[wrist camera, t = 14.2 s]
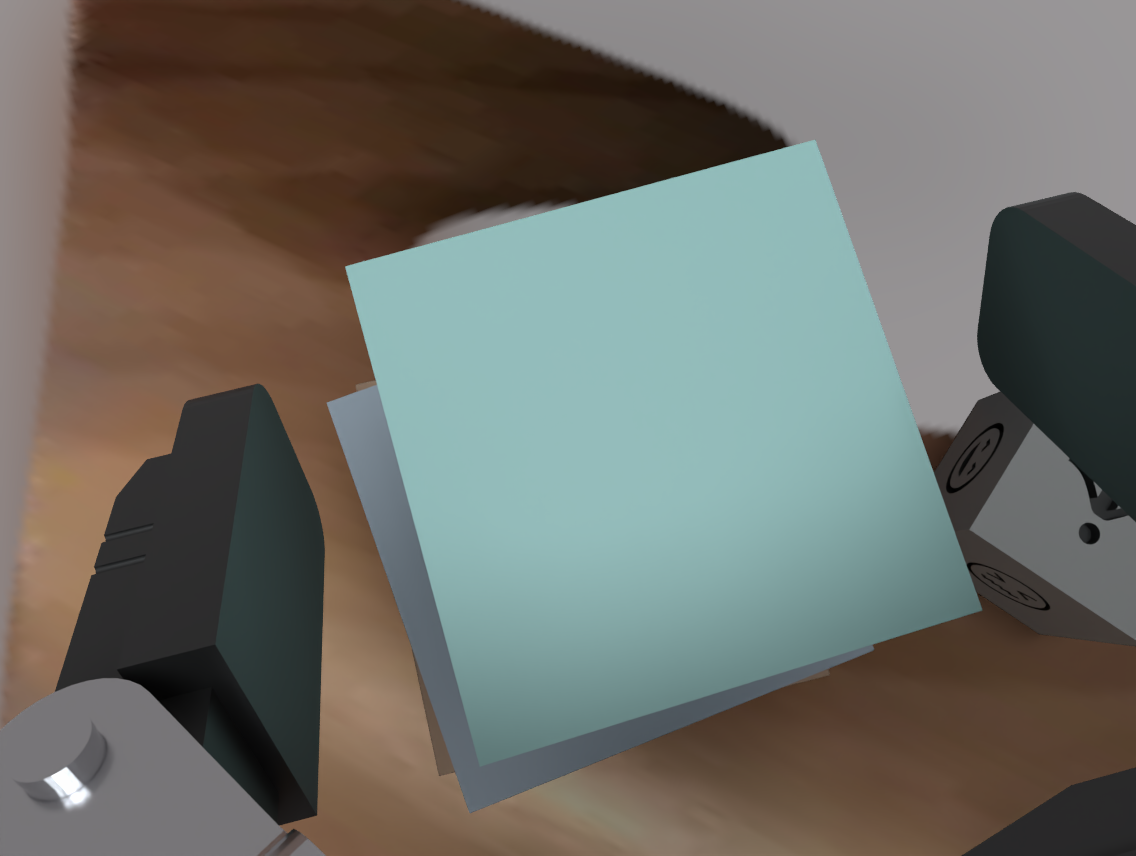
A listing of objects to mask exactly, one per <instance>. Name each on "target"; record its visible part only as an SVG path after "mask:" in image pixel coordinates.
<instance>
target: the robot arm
mask: <svg viewBox="0 0 1136 856" xmlns="http://www.w3.org/2000/svg"><path fill="white" fill-rule="evenodd" d="M989 238H990V239H989V245H988V253H987V261H986V270H985V277H984V285H983V292H982V300H981V309H980V316H979V323H978V333H977V340H978V341H977V342H978V350H979V355H980V358H981V362H982V365H983V367H984V370H985V372H986V373H987V375H988V377H989V379H990V380H991V382H992V383H993V384H994V385H995V386H996V388H998V389H999V390H1000V391H1001V392H1002V393H1003V394H1004V395H1005V396H1006V397H1007V398H1008V399H1009V400H1010V401H1011V402H1012V403H1013V404H1014V405H1015V406H1016V407H1017V408H1018V409H1019V410H1020V411H1021V412H1022V413H1023V414H1024V415H1025V416H1026V417H1027V418H1028V419H1030V420H1031V421H1032V422H1033V423H1034V424H1035V425H1036V426H1037V427H1038V428H1039V429H1040V430H1041V431H1042V432H1043V433H1044V434H1045V435H1046V436H1047V437H1048V438H1049V439H1050V440H1051V441H1052V442H1053V443H1054V444H1055V445H1056V446H1057V447H1058V448H1059V449H1061V450H1062V451H1063V452H1064V453H1065V454H1066V455H1067V456H1068V457H1069V458H1070V459H1071V460H1072V461H1073V462H1074V463H1075V464H1076V465H1077V466H1078V467H1079V468H1080V469H1081V470H1082V471H1083V472H1084V473H1085V474H1086V475H1087V476H1088V477H1089V478H1090V479H1092V480H1093V481H1094V482H1095V483H1096V484H1097V485H1098V486H1099V487H1100V488H1101V489H1102V490H1103V491H1104V492H1105V493H1106V494H1107V495H1108V496H1109V497H1110V498H1111V499H1112V500H1113V501H1114V502H1115V503H1116V504H1117V505H1118V506H1119V507H1120V508H1121V509H1123V510H1124V511H1125V512H1126V513H1127V514H1128V515H1129V516H1130V517H1131V518H1132V519H1133V520H1134V521H1135V522H1136V225H1135V224H1133V223H1131V222H1130V221H1128V220H1126V219H1125V218H1123V217H1121V216H1119V215H1118V214H1116V213H1114V212H1113V211H1111V210H1109V209H1108V208H1106V207H1104V206H1103V205H1101V204H1099V203H1097V202H1096V201H1094V200H1092V199H1091V198H1089V197H1087V196H1086V195H1083V194H1081V193H1076V192H1073V193H1067V194H1062V195H1058V196H1054V197H1050V198H1045V199H1041V200H1038V201H1033V202H1029V203H1025V204H1020V205H1016V206H1012V207H1008V208H1005V209H1003V210H1002V211H1001V212H999V214H998V215H997V216H996V218H995V220H994V222H993V224H992V227H991V232H990V237H989ZM104 536H105V539H106V542H103V543H102V544H101V547H100V550H99V553H98V556H97V559H96V563H95V566H94V568H95V570H96V574H95V575H91V579H90V582H89V585H88V588H87V591H86V594H85V598H84V601H83V604H82V607H81V610H80V614H79V617H78V620H77V623H76V626H75V629H74V633H73V636H72V639H71V642H70V645H69V649H68V652H67V655H66V658H65V661H64V664H63V668H62V671H61V674H60V677H59V680H58V684H57V687H56V690H55V692H54V693H52V694H50V695H48V696H46V697H45V698H43V699H41V700H39V701H37V702H36V703H34V704H33V705H31V706H30V707H28V708H27V709H25V710H24V711H22V712H21V713H20V714H19V715H17V716H16V717H15V718H14V719H12V720H11V721H10V722H9V723H7V724H6V725H5V726H4V727H3V728H2V729H1V730H0V856H325V855H324V854H323V853H322V852H321V851H320V850H319V849H318V848H317V847H316V846H315V845H314V844H313V843H312V842H311V841H310V840H309V839H308V838H306V837H305V836H304V835H303V834H301V833H300V832H299V831H297V830H295V829H293V830H291V831H290V832H289V833H286V832H285V831H284V830H283V829H282V828H281V827H280V826H279V825H283V824H286V823H290V822H294V821H298V820H301V819H305V818H309V817H313V816H316V815H317V798H318V764H319V729H320V695H321V661H322V627H323V592H324V558H325V546H324V536H323V529H322V524H321V519H320V515H319V511H318V508H317V505H316V502H315V499H314V496H313V493H312V491H311V489H310V486H309V484H308V482H307V479H306V477H305V475H304V472H303V470H302V468H301V466H300V463H299V461H298V459H297V456H296V454H295V452H294V449H293V447H292V445H291V442H290V440H289V438H288V435H287V433H286V431H285V429H284V426H283V424H282V422H281V419H280V417H279V415H278V412H277V410H276V408H275V405H274V403H273V401H272V399H271V397H270V395H269V393H268V392H267V391H266V389H265V388H264V387H263V386H262V385H260V384H255V385H251V386H246V387H242V388H238V389H234V390H230V391H225V392H221V393H217V394H213V395H209V396H204V397H200V398H196V399H192V400H188V401H187V402H186V403H185V404H184V407H183V410H182V414H181V418H180V422H179V426H178V430H177V434H176V438H175V442H174V445H173V449H172V453H171V454H168V455H164V456H159V457H155V458H151V459H147V460H146V461H145V462H144V464H143V465H142V466H141V467H140V469H139V470H138V471H137V472H136V473H135V475H134V476H133V477H132V478H131V479H130V481H129V482H128V483H127V484H126V486H125V487H124V488H123V489H122V490H121V492H120V493H119V494H118V495H117V497H116V499H115V502H114V505H113V509H112V512H111V515H110V518H109V521H108V524H107V528H106V531H105V534H104ZM962 856H1136V768H1132V769H1129V770H1125V771H1121V772H1118V773H1114V774H1111V775H1107V776H1103V777H1100V778H1096V779H1093V780H1089V781H1085V782H1082V783H1078V784H1075V785H1071V786H1070V787H1068V788H1066V789H1065V790H1063V791H1062V792H1060V793H1059V794H1057V795H1056V796H1054V797H1052V798H1051V799H1049V800H1048V801H1046V802H1045V803H1043V804H1042V805H1040V806H1038V807H1037V808H1035V809H1034V810H1032V811H1031V812H1029V813H1028V814H1026V815H1024V816H1023V817H1021V818H1020V819H1018V820H1017V821H1015V822H1014V823H1012V824H1010V825H1009V826H1007V827H1006V828H1004V829H1003V830H1001V831H1000V832H998V833H996V834H995V835H993V836H992V837H990V838H989V839H987V840H986V841H984V842H982V843H981V844H979V845H978V846H976V847H975V848H973V849H972V850H970V851H968V852H967V853H965V854H964V855H962Z"/></svg>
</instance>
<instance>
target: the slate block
mask: <svg viewBox="0 0 1136 856" xmlns="http://www.w3.org/2000/svg"><path fill="white" fill-rule="evenodd" d="M327 405H328V408H329V411H330V414H331V417H332V419H333V422H334V425H335V428H336V431H337V434H338V437H339V440H340V442H341V445H342V448H343V451H344V454H345V457H346V460H347V463H348V465H349V468H350V471H351V474H352V477H353V480H354V483H355V485H356V488H357V491H358V494H359V497H360V500H361V503H362V506H363V508H364V511H365V514H366V517H367V520H368V523H369V526H370V529H371V531H372V534H373V537H374V540H375V543H376V546H377V549H378V552H379V554H380V557H381V560H382V563H383V566H384V569H385V572H386V575H387V577H388V580H389V583H390V586H391V589H392V592H393V595H394V598H395V600H396V603H397V606H398V609H399V612H400V615H401V618H402V620H403V623H404V626H405V629H406V632H407V635H408V638H409V641H410V643H411V646H412V649H413V652H414V655H415V658H416V661H417V664H418V666H419V669H420V672H421V675H422V678H423V681H424V684H425V687H426V689H427V692H428V695H429V698H430V701H431V704H432V707H433V710H434V712H435V715H436V718H437V721H438V724H439V727H440V730H441V733H442V735H443V738H444V741H445V744H446V747H447V750H448V753H449V755H450V758H451V761H452V764H453V767H454V770H455V773H456V776H457V778H458V781H459V784H460V787H461V790H462V793H463V796H464V799H465V801H466V804H467V807H468V810H469V813H472V812H474V811H477V810H479V809H482V808H484V807H487V806H489V805H492V804H494V803H497V802H499V801H502V800H504V799H507V798H509V797H512V796H514V795H517V794H519V793H522V792H524V791H526V790H529V789H531V788H534V787H536V786H539V785H541V784H544V783H546V782H549V781H551V780H554V779H556V778H559V777H561V776H564V775H566V774H569V773H571V772H574V771H576V770H579V769H581V768H583V767H586V766H588V765H591V764H593V763H596V762H598V761H601V760H603V759H606V758H608V757H611V756H613V755H616V754H618V753H621V752H623V751H626V750H628V749H631V748H633V747H636V746H638V745H640V744H643V743H645V742H648V741H650V740H653V739H655V738H658V737H660V736H663V735H665V734H668V733H670V732H673V731H675V730H678V729H680V728H683V727H685V726H688V725H690V724H692V723H695V722H697V721H700V720H702V719H705V718H707V717H710V716H712V715H715V714H717V713H720V712H722V711H725V710H727V709H730V708H732V707H735V706H737V705H740V704H742V703H745V702H747V701H749V700H752V699H754V698H757V697H759V696H762V695H764V694H767V693H769V692H772V691H774V690H777V689H779V688H782V687H784V686H787V685H789V684H792V683H794V682H797V681H799V680H801V679H804V678H806V677H809V676H811V675H814V674H816V673H819V672H821V671H824V670H826V669H829V668H831V667H834V666H836V665H839V664H841V663H844V662H846V661H849V660H851V659H854V658H856V657H858V656H861V655H863V654H866V653H868V652H871V651H873V650H874V648H873V646H872V645H869V646H866V647H863V648H860V649H857V650H853V651H850V652H847V653H844V654H840V655H837V656H834V657H831V658H828V659H824V660H821V661H818V662H815V663H812V664H808V665H805V666H802V667H799V668H795V669H792V670H789V671H786V672H783V673H779V674H776V675H773V676H770V677H767V678H763V679H760V680H757V681H754V682H750V683H747V684H744V685H741V686H738V687H734V688H731V689H728V690H725V691H722V692H718V693H715V694H712V695H709V696H706V697H702V698H699V699H696V700H693V701H689V702H686V703H683V704H680V705H677V706H673V707H670V708H667V709H664V710H661V711H657V712H654V713H651V714H648V715H644V716H641V717H638V718H635V719H632V720H628V721H625V722H622V723H619V724H616V725H612V726H609V727H606V728H603V729H599V730H596V731H593V732H590V733H587V734H583V735H580V736H577V737H574V738H571V739H567V740H564V741H561V742H558V743H555V744H551V745H548V746H545V747H542V748H538V749H535V750H532V751H529V752H526V753H522V754H519V755H516V756H513V757H510V758H506V759H503V760H500V761H497V762H493V763H490V764H487V765H484V766H481V767H480V766H479V762H478V758H477V755H476V751H475V747H474V744H473V740H472V736H471V732H470V729H469V725H468V721H467V717H466V714H465V710H464V706H463V703H462V699H461V695H460V691H459V688H458V684H457V680H456V677H455V673H454V669H453V665H452V662H451V658H450V654H449V650H448V647H447V643H446V639H445V636H444V632H443V628H442V624H441V621H440V617H439V613H438V610H437V606H436V602H435V598H434V595H433V591H432V587H431V583H430V580H429V576H428V572H427V569H426V565H425V561H424V557H423V554H422V550H421V546H420V543H419V539H418V535H417V531H416V528H415V524H414V520H413V516H412V513H411V509H410V505H409V502H408V498H407V494H406V490H405V487H404V483H403V479H402V476H401V472H400V468H399V464H398V461H397V457H396V453H395V450H394V446H393V442H392V438H391V435H390V431H389V427H388V423H387V420H386V416H385V412H384V409H383V405H382V401H381V397H380V394H379V390H378V386H377V385H375V386H372V387H369V388H366V389H364V390H361V391H358V392H355V393H353V394H350V395H347V396H344V397H342V398H339V399H336V400H333V401H330V402H328V403H327Z"/></svg>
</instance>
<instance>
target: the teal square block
mask: <svg viewBox="0 0 1136 856" xmlns="http://www.w3.org/2000/svg"><path fill="white" fill-rule="evenodd" d="M345 267H346V271H347V275H348V278H349V282H350V286H351V289H352V293H353V297H354V301H355V304H356V308H357V312H358V316H359V319H360V323H361V327H362V330H363V334H364V338H365V342H366V345H367V349H368V353H369V356H370V360H371V364H372V368H373V371H374V375H375V379H376V383H377V386H378V390H379V394H380V397H381V401H382V405H383V409H384V412H385V416H386V420H387V423H388V427H389V431H390V435H391V438H392V442H393V446H394V450H395V453H396V457H397V461H398V464H399V468H400V472H401V476H402V479H403V483H404V487H405V490H406V494H407V498H408V502H409V505H410V509H411V513H412V516H413V520H414V524H415V528H416V531H417V535H418V539H419V543H420V546H421V550H422V554H423V557H424V561H425V565H426V569H427V572H428V576H429V580H430V583H431V587H432V591H433V595H434V598H435V602H436V606H437V610H438V613H439V617H440V621H441V624H442V628H443V632H444V636H445V639H446V643H447V647H448V650H449V654H450V658H451V662H452V665H453V669H454V673H455V677H456V680H457V684H458V688H459V691H460V695H461V699H462V703H463V706H464V710H465V714H466V717H467V721H468V725H469V729H470V732H471V736H472V740H473V744H474V747H475V751H476V755H477V758H478V762H479V766H480V767H481V766H484V765H487V764H490V763H493V762H497V761H500V760H503V759H506V758H510V757H513V756H516V755H519V754H522V753H526V752H529V751H532V750H535V749H538V748H542V747H545V746H548V745H551V744H555V743H558V742H561V741H564V740H567V739H571V738H574V737H577V736H580V735H583V734H587V733H590V732H593V731H596V730H599V729H603V728H606V727H609V726H612V725H616V724H619V723H622V722H625V721H628V720H632V719H635V718H638V717H641V716H644V715H648V714H651V713H654V712H657V711H661V710H664V709H667V708H670V707H673V706H677V705H680V704H683V703H686V702H689V701H693V700H696V699H699V698H702V697H706V696H709V695H712V694H715V693H718V692H722V691H725V690H728V689H731V688H734V687H738V686H741V685H744V684H747V683H750V682H754V681H757V680H760V679H763V678H767V677H770V676H773V675H776V674H779V673H783V672H786V671H789V670H792V669H795V668H799V667H802V666H805V665H808V664H812V663H815V662H818V661H821V660H824V659H828V658H831V657H834V656H837V655H840V654H844V653H847V652H850V651H853V650H857V649H860V648H863V647H866V646H869V645H873V644H876V643H879V642H882V641H885V640H889V639H892V638H895V637H898V636H901V635H905V634H908V633H911V632H914V631H918V630H921V629H924V628H927V627H930V626H934V625H937V624H940V623H943V622H946V621H950V620H953V619H956V618H959V617H963V616H966V615H969V614H972V613H975V612H979V611H982V607H981V605H980V602H979V599H978V596H977V593H976V591H975V588H974V585H973V582H972V579H971V576H970V574H969V571H968V568H967V565H966V562H965V560H964V557H963V554H962V551H961V548H960V546H959V543H958V540H957V537H956V534H955V531H954V529H953V526H952V523H951V520H950V517H949V515H948V512H947V509H946V506H945V503H944V500H943V498H942V495H941V492H940V489H939V486H938V484H937V481H936V478H935V475H934V472H933V470H932V467H931V464H930V461H929V458H928V455H927V453H926V450H925V447H924V444H923V441H922V439H921V436H920V433H919V430H918V427H917V424H916V422H915V419H914V416H913V413H912V410H911V408H910V405H909V402H908V399H907V396H906V394H905V391H904V388H903V385H902V382H901V379H900V377H899V374H898V371H897V368H896V365H895V363H894V360H893V357H892V354H891V351H890V349H889V346H888V343H887V340H886V337H885V334H884V332H883V329H882V326H881V323H880V321H879V318H878V315H877V312H876V309H875V306H874V303H873V301H872V298H871V295H870V292H869V290H868V287H867V284H866V281H865V278H864V275H863V273H862V270H861V267H860V264H859V261H858V259H857V256H856V253H855V250H854V247H853V244H852V242H851V239H850V236H849V233H848V230H847V227H846V225H845V222H844V219H843V216H842V214H841V211H840V208H839V205H838V202H837V199H836V197H835V194H834V191H833V188H832V185H831V183H830V180H829V177H828V174H827V171H826V169H825V166H824V163H823V160H822V157H821V154H820V151H819V149H818V146H817V143H816V140H813V141H809V142H805V143H801V144H798V145H794V146H790V147H787V148H783V149H779V150H775V151H772V152H768V153H764V154H761V155H757V156H753V157H750V158H746V159H742V160H738V161H735V162H731V163H727V164H724V165H720V166H716V167H712V168H709V169H705V170H701V171H698V172H694V173H690V174H687V175H683V176H679V177H675V178H672V179H668V180H664V181H661V182H657V183H653V184H649V185H646V186H642V187H638V188H635V189H631V190H627V191H623V192H620V193H616V194H612V195H609V196H605V197H601V198H598V199H594V200H590V201H586V202H583V203H579V204H575V205H572V206H568V207H564V208H560V209H557V210H553V211H549V212H546V213H542V214H538V215H535V216H531V217H527V218H524V219H520V220H516V221H513V222H509V223H505V224H501V225H497V226H494V227H490V228H487V229H483V230H479V231H476V232H472V233H468V234H464V235H461V236H457V237H453V238H449V239H446V240H442V241H438V242H434V243H431V244H427V245H423V246H420V247H416V248H412V249H408V250H405V251H401V252H397V253H394V254H390V255H386V256H383V257H379V258H375V259H371V260H368V261H364V262H360V263H357V264H353V265H349V266H345Z"/></svg>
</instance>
